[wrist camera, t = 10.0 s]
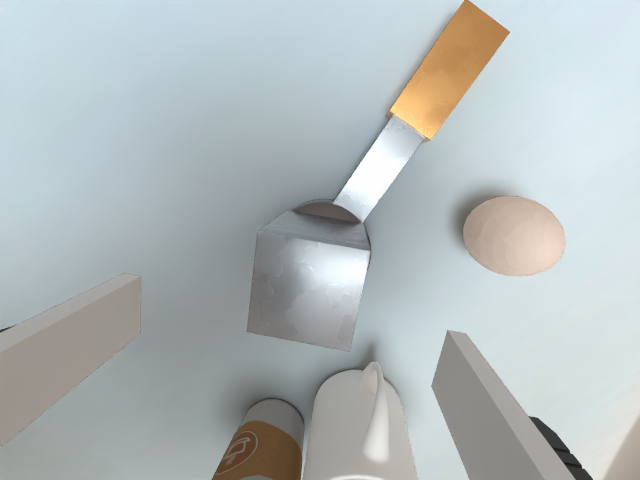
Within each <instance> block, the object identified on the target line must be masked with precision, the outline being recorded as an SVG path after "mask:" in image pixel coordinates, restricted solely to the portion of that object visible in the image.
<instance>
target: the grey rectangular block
mask: <svg viewBox="0 0 640 480" xmlns="http://www.w3.org/2000/svg"><path fill="white" fill-rule="evenodd" d="M369 256H370V247H369V244H368V240H367V236H366V232H365V229H364V225H363V223H360V222H354V221H348V220H342V219H336V218H330V217H324V216H319V215H313V214H307V213H301V212H295V211H289V210H287V211H285V212H284V213H283V214H281V215H280V216H278V217H277V218H276V219H274V220H273V221H271V222H270V223H269V224H267V225H266V226H264V227H263V228H262V229H260V230H259V231H257V240H256V250H255V259H254V269H253V278H252V288H251V297H250V307H249V316H248V326H247V332H250V333H255V334H260V335H265V336H271V337H276V338H281V339H286V340H292V341H297V342H302V343H307V344H313V345H318V346H323V347H328V348H333V349H339V350H344V351H349V352H350V349H351V344H352V339H353V334H354V329H355V324H356V320H357V315H358V310H359V305H360V300H361V295H362V290H363V285H364V281H365V276H366V271H367V266H368V261H369Z"/></svg>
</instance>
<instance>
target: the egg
mask: <svg viewBox="0 0 640 480" xmlns="http://www.w3.org/2000/svg"><path fill="white" fill-rule="evenodd" d="M463 237H464V244H465V246H466V248H467V250H468V252H469V254H470V255H471V256H472V257H473V258H474V259H475V260H476V261H477V262H478V263H479V264H481V265H482V266H484V267H485V268H487V269H489V270H491V271H493V272H495V273H498V274H502V275H506V276H529V275H534V274H537V273H541V272H544V271H546V270H548V269H550V268H551V267H552V266H553V265H555V264H556V263H557V262H558V261H559V259H560V258H561V257H562V255H563V253H564V249H565V245H566V241H565V234H564V230H563V227H562V225H561V224H560V222H559V221H558V219H557V218H556V217H555V216H554V214H553V213H552V212H551V211H550V210H549V209H547V208H546V207H545V206H543V205H541V204H539V203H538V202H536V201H533V200H530V199H526V198H522V197H518V196H501V197H497V198H493V199H489V200H487V201H485V202H483V203H481V204H480V205H478V206H477V207H476V208H475V209H473V211H472V212H471V213H470V215H469V216H468V217H467V219H466V222H465V224H464V229H463Z"/></svg>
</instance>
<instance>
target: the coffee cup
mask: <svg viewBox="0 0 640 480" xmlns="http://www.w3.org/2000/svg"><path fill="white" fill-rule="evenodd" d="M303 438H304V425H303V421H302V419H301V416H300V415H299V413H298V411H297V410H296V409H295V408H294V407H293V406H291V405H290V404H289V403H287V402H284V401H282V400H277V399H266V400H263V401H260V402H258V403H257V404H255V405H254V406H253V407H251V408H250V409H249V410H248V412H247V413H246V415H245V417H244V419H243V421H242V423H241V425H240V427H239V429H238V431H237V432H236V433H235V435H234V437H233V439H232V440H231V442H230V444H229V446H228V448H227V450H226V452H225V454H224V456H223V458H222V460H221V462H220V464H219V466H218V468H217V470H216V472H215V474H214V476H213V478H212V480H301V469H302V449H303Z"/></svg>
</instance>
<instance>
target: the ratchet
mask: <svg viewBox="0 0 640 480" xmlns="http://www.w3.org/2000/svg"><path fill="white" fill-rule="evenodd" d="M509 33H510V32H509V31H508V30H507V29H506V28H504V27H503V26H502V25H500V24H499V23H498V22H496V21H495V20H494V19H492V18H491V17H490V16H488V15H487V14H486V13H484V12H483V11H482V10H480V9H479V8H478V7H477V6H475V5H474V4H473V3H471V2H470V1H469V0H464V2H463V3H462V5H461V6H460V7H459V9H458V10H457V12H456V13H455V15H454V16H453V18H452V19H451V20H450V22H449V23H448V25H447V26H446V28H445V29H444V31H443V32H442V34H441V35H440V37H439V38H438V40H437V41H436V43H435V44H434V46H433V47H432V48H431V50H430V51H429V53H428V54H427V56H426V57H425V59H424V60H423V62H422V63H421V65H420V66H419V68H418V69H417V71H416V72H415V74H414V75H413V77H412V78H411V79H410V81H409V82H408V84H407V85H406V87H405V88H404V90H403V91H402V93H401V94H400V96H399V97H398V99H397V100H396V102H395V103H394V105H393V106H392V108H391V109H390V110H389V112H388V113H387V115H386V117H388V118H389V119H390V120H389V121H388V122H387V124H386V125H385V127H384V128H383V130H382V131H381V133H380V134H379V136H378V137H377V139H376V140H375V141H374V143H373V144H372V146H371V147H370V149H369V150H368V152H367V153H366V155H365V156H364V158H363V159H362V161H361V162H360V163H359V165H358V166H357V168H356V169H355V171H354V172H353V174H352V175H351V177H350V178H349V180H348V181H347V182H346V184H345V185H344V187H343V188H342V190H341V191H340V193H339V194H338V196H337V197H336V199H335V200H334V201H333V200H327V199H319V200H313V201H309V202H306V203H304V204H302V205H300V206H298V207H297V208H296V209H294V210H293V211H295V212H301V213H307V214H313V215H319V216H324V217H330V218H336V219H342V220H348V221H354V222H360V223H363V222H364V220H365V219H366V217H367V216H368V215H369V213H370V212H371V211H372V209H373V208H374V206H375V205H376V204H377V202H378V201H379V200H380V198H381V197H382V195H383V194H384V193H385V191H386V190H387V189H388V187H389V186H390V184H391V183H392V182H393V180H394V179H395V178H396V176H397V175H398V173H399V172H400V171H401V169H402V168H403V167H404V165H405V164H406V162H407V161H408V160H409V158H410V157H411V156H412V154H413V153H414V151H415V150H416V149H417V147H418V146H419V145H420V143H421V142H426V141H429V140H431V139H432V138H433V136H434V135H435V133H436V132H437V131H438V129H439V128H440V127H441V125H442V124H443V123H444V121H445V120H446V118H447V117H448V116H449V114H450V113H451V112H452V110H453V109H454V108H455V106H456V105H457V104H458V102H459V101H460V99H461V98H462V97H463V95H464V94H465V93H466V91H467V90H468V89H469V87H470V86H471V84H472V83H473V82H474V80H475V79H476V78H477V76H478V75H479V74H480V72H481V71H482V70H483V68H484V67H485V65H486V64H487V63H488V61H489V60H490V59H491V57H492V56H493V55H494V53H495V52H496V50H497V49H498V48H499V46H500V45H501V44H502V42H503V41H504V40H505V38H506V37H507V35H508V34H509ZM363 225H364V223H363ZM364 229H365V232H366V236H367V240H368V244H369V247H370V256H369V261H368V266H367V270H368V267H369V264H370V259H371V245H370V240H369V236H368V233H367V230H366V227H365V225H364ZM366 272H367V271H366Z"/></svg>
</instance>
